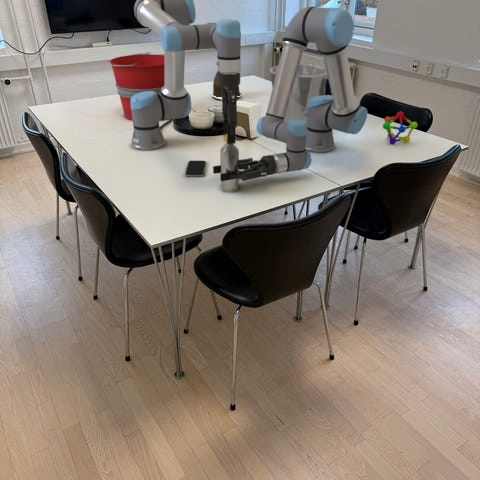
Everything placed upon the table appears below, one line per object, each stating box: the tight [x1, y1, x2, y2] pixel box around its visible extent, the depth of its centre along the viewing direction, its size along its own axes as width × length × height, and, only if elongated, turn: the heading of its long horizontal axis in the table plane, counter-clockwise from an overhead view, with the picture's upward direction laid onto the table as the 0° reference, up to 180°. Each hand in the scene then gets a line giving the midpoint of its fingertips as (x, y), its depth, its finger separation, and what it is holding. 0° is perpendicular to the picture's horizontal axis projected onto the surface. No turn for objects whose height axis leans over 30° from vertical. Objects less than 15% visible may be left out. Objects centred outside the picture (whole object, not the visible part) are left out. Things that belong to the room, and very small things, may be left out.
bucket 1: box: [106, 51, 164, 121], centre depth 240 cm, size 35×35×30 cm
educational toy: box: [382, 110, 418, 145], centre depth 207 cm, size 16×13×15 cm
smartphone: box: [184, 160, 207, 177], centre depth 182 cm, size 7×1×15 cm
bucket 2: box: [269, 63, 328, 123], centre depth 226 cm, size 30×30×28 cm
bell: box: [212, 70, 242, 97], centre depth 278 cm, size 19×26×20 cm
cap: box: [223, 134, 227, 143], centre depth 157 cm, size 4×4×2 cm
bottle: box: [219, 142, 240, 193], centre depth 162 cm, size 7×7×20 cm
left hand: (229, 140), depth 158 cm, fingers open, 6 cm apart
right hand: (217, 173), depth 162 cm, fingers closed on bottle, 7 cm apart
